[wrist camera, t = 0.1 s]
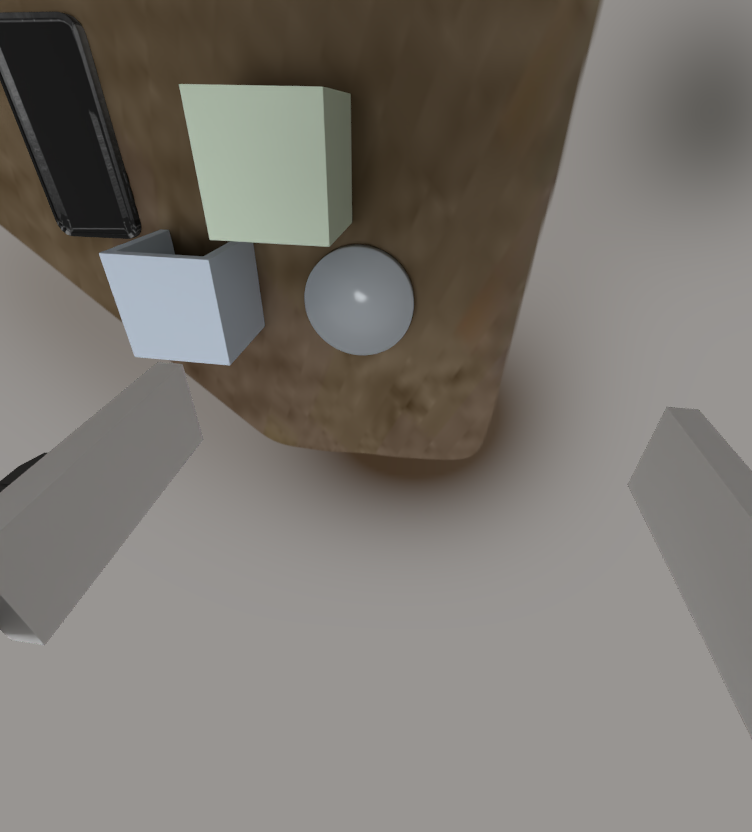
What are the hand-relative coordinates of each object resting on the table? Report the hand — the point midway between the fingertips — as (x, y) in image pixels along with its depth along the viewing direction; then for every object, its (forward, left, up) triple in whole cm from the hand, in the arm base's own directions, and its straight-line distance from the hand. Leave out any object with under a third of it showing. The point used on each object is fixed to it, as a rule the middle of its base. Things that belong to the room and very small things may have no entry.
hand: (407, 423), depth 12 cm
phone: (-5, -30, -28) cm, 42 cm away
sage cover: (-4, -11, -28) cm, 30 cm away
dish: (+7, -6, -28) cm, 29 cm away
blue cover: (+6, -20, -28) cm, 35 cm away
